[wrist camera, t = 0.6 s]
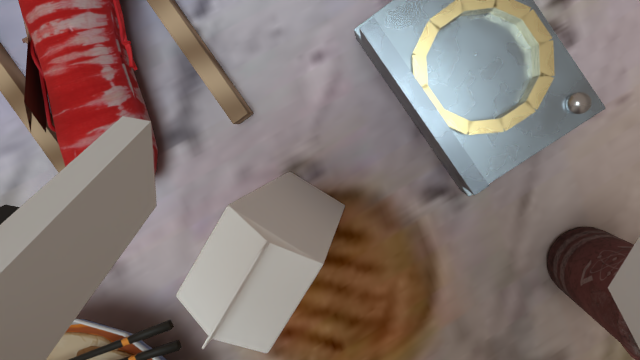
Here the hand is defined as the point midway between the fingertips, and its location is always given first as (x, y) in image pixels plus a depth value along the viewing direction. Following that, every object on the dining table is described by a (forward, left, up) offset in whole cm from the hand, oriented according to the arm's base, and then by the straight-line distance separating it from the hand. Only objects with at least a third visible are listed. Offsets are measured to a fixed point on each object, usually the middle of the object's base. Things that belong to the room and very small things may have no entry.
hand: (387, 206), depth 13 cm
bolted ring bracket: (+1, -10, -30) cm, 32 cm away
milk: (-1, +9, -31) cm, 32 cm away
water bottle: (+22, +17, -31) cm, 42 cm away
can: (-18, -9, -31) cm, 37 cm away
